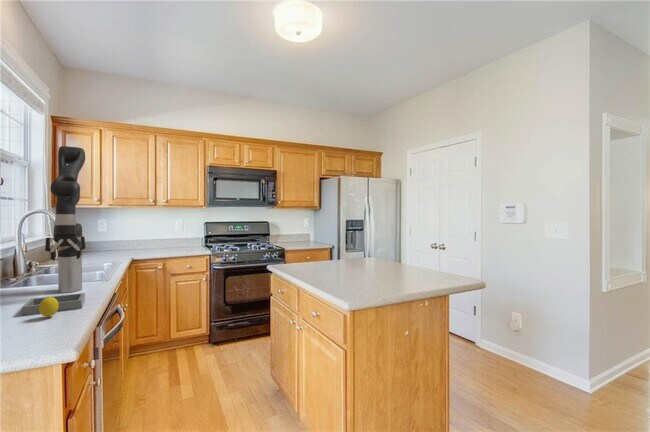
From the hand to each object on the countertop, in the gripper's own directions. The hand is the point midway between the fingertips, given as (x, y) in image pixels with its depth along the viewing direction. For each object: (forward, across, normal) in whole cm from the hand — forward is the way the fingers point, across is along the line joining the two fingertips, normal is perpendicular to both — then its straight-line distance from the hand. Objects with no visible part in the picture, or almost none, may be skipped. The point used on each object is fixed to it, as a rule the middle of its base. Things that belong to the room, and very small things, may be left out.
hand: (65, 259), depth 147 cm
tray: (+18, +1, +16) cm, 24 cm away
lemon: (+20, +1, +29) cm, 35 cm away
